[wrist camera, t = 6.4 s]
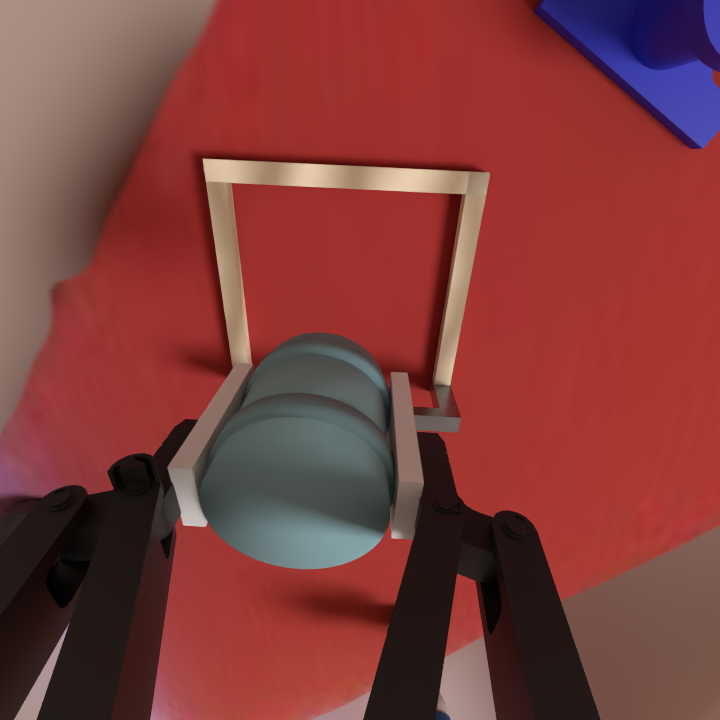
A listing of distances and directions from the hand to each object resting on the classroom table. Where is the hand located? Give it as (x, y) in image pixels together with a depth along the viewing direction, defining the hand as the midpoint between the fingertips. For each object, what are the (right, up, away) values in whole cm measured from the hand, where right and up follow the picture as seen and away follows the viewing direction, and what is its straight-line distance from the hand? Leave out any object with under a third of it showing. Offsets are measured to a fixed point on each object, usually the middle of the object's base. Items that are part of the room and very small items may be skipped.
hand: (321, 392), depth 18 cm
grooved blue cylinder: (0, 0, 0) cm, 0 cm away
